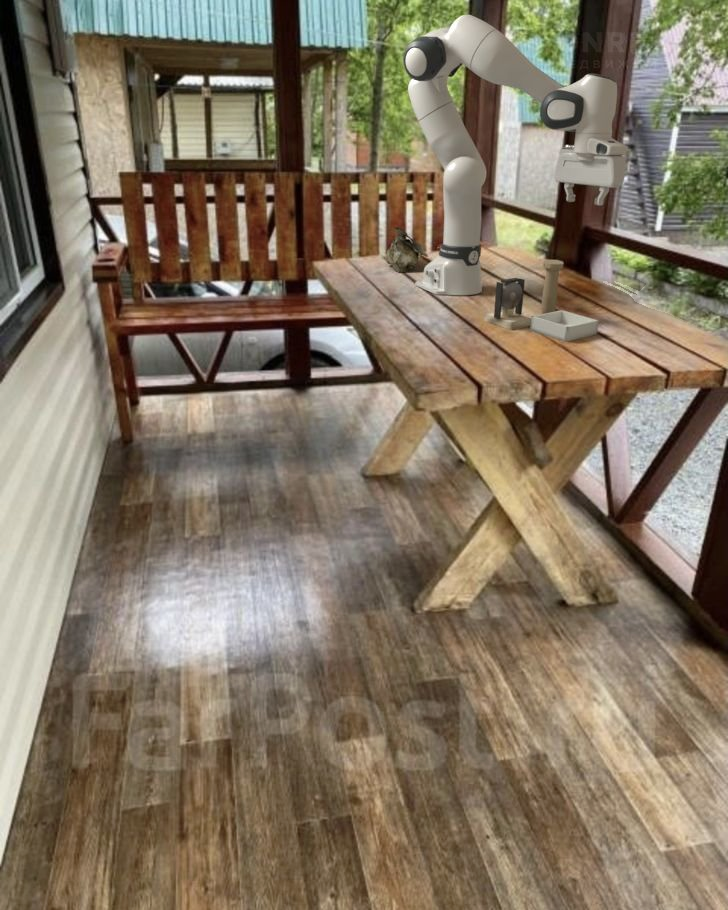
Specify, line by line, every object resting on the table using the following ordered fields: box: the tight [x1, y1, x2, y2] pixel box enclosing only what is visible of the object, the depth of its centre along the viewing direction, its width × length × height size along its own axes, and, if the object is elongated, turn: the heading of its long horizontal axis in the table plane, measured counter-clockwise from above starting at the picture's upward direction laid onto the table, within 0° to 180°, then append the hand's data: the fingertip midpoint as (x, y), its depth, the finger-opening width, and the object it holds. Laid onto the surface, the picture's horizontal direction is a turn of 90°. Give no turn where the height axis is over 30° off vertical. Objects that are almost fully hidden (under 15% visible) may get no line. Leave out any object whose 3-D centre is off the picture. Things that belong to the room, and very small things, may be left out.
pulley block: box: [484, 277, 531, 331], centre depth 192 cm, size 10×8×12 cm
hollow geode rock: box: [385, 226, 429, 273], centre depth 262 cm, size 28×13×15 cm
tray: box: [529, 309, 599, 342], centre depth 186 cm, size 12×11×4 cm
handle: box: [540, 259, 565, 315], centre depth 197 cm, size 5×6×15 cm
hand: (584, 203), depth 192 cm, fingers open, 8 cm apart
